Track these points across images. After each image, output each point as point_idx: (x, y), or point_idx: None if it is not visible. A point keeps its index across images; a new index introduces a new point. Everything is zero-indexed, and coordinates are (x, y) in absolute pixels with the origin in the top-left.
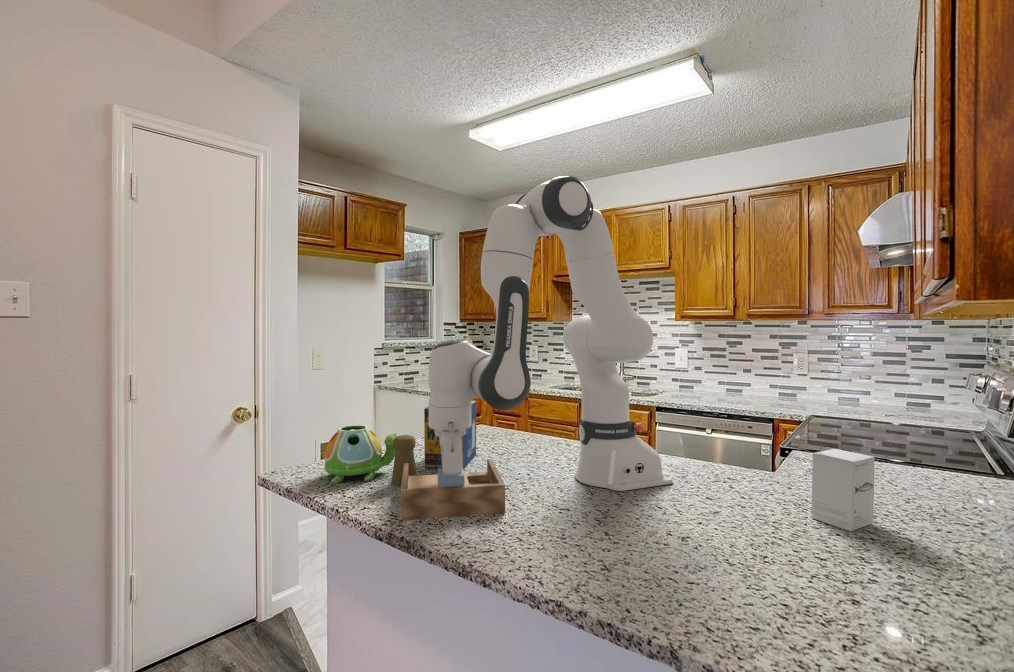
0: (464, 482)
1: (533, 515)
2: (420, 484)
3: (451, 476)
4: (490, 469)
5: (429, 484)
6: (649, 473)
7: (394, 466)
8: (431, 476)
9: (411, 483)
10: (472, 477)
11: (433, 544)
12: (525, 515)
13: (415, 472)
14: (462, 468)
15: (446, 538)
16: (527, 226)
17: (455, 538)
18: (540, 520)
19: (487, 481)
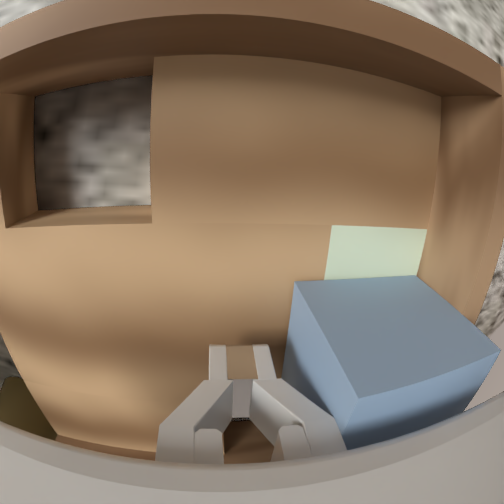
0: (105, 251)
1: (447, 11)
2: (143, 427)
3: (464, 408)
4: (29, 59)
5: (142, 406)
6: None
7: None
8: (39, 382)
9: (133, 443)
10: (6, 191)
11: (489, 328)
12: (447, 32)
13: (18, 410)
14: (385, 391)
15: (487, 305)
16: None
17: (496, 285)
18: (477, 20)
19: (21, 101)
